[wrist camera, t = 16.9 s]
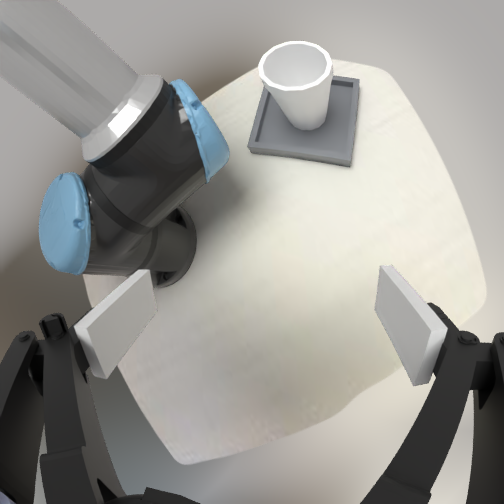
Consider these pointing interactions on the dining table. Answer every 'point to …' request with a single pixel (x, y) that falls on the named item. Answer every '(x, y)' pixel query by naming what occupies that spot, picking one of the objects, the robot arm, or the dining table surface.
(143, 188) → the robot arm
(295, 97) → the foam cup
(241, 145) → the dining table surface
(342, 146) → the serving tray
